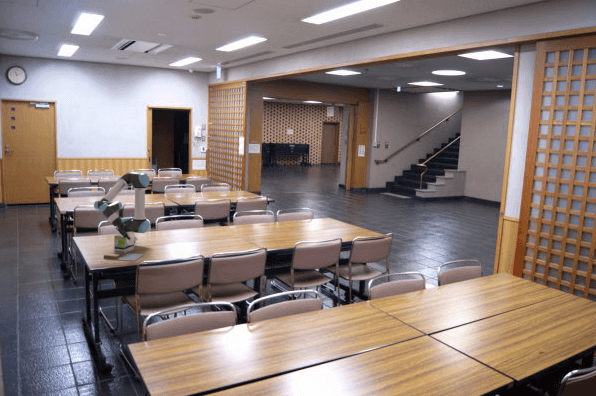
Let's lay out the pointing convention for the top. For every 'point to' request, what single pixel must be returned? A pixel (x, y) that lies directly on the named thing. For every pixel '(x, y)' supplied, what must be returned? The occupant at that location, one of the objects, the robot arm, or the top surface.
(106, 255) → the walnut deck
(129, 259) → the slate mat
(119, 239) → the tea box
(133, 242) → the ceramic canister
